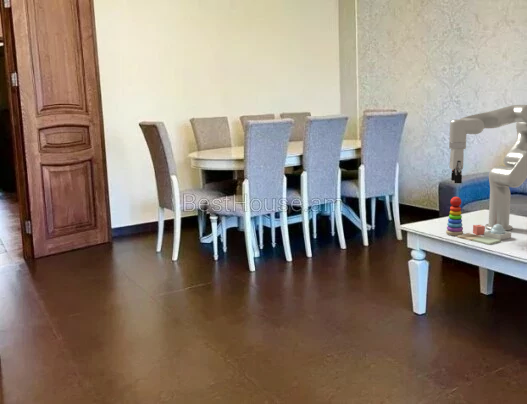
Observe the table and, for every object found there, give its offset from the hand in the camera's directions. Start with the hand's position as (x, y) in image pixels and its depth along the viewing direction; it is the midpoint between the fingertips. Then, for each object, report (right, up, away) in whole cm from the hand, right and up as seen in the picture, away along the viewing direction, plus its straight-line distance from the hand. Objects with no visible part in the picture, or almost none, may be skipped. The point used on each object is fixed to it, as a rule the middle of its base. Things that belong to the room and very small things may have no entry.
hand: (456, 181), depth 262 cm
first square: (+6, -27, -3) cm, 28 cm away
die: (+12, -25, +4) cm, 29 cm away
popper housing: (+18, -27, -4) cm, 32 cm away
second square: (+10, -28, -10) cm, 32 cm away
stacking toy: (+1, -26, +5) cm, 26 cm away
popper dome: (+18, -25, -4) cm, 31 cm away
